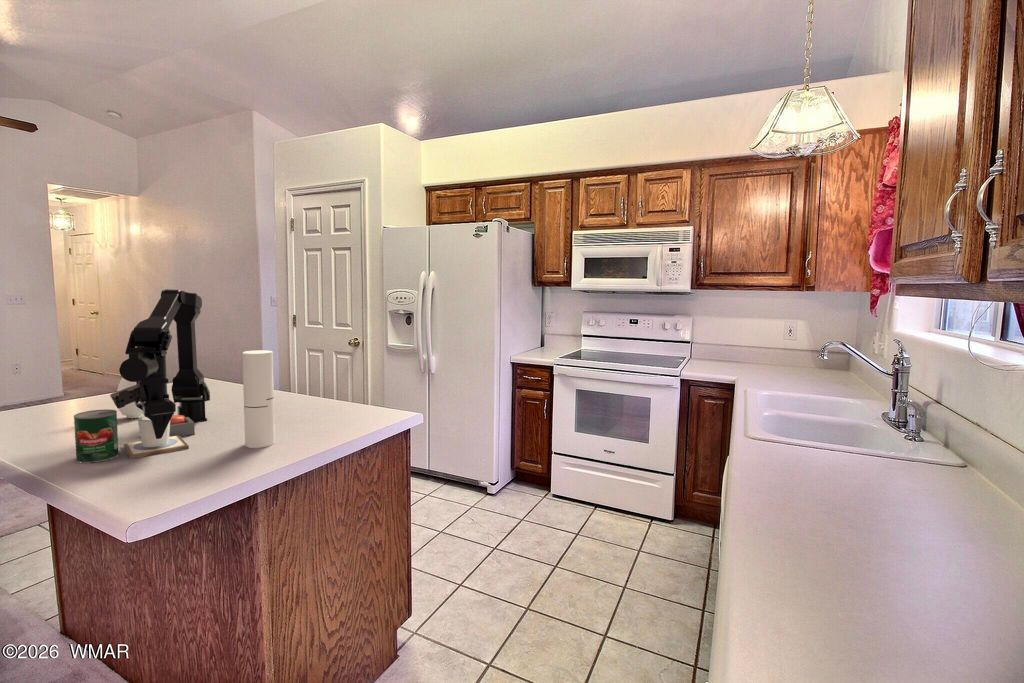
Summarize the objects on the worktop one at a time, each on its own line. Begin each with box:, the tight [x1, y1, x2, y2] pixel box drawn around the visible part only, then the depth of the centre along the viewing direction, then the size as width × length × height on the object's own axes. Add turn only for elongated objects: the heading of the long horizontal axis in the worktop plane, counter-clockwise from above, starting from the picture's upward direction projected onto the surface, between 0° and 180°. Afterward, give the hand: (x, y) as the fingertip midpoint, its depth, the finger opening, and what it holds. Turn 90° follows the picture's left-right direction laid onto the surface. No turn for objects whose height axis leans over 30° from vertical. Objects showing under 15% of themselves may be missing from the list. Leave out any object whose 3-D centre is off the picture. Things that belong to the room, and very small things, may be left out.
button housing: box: [169, 417, 196, 437], centre depth 138 cm, size 8×8×4 cm
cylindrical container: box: [242, 349, 276, 449], centre depth 130 cm, size 7×7×25 cm
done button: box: [170, 414, 185, 425], centre depth 137 cm, size 5×5×2 cm
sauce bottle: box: [116, 376, 144, 420], centre depth 152 cm, size 8×8×18 cm
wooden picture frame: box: [122, 435, 190, 459], centre depth 126 cm, size 12×12×1 cm
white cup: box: [137, 416, 170, 447], centre depth 125 cm, size 7×7×7 cm
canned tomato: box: [73, 408, 120, 464], centre depth 117 cm, size 8×8×11 cm
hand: (155, 434), depth 126 cm, fingers open, 9 cm apart
